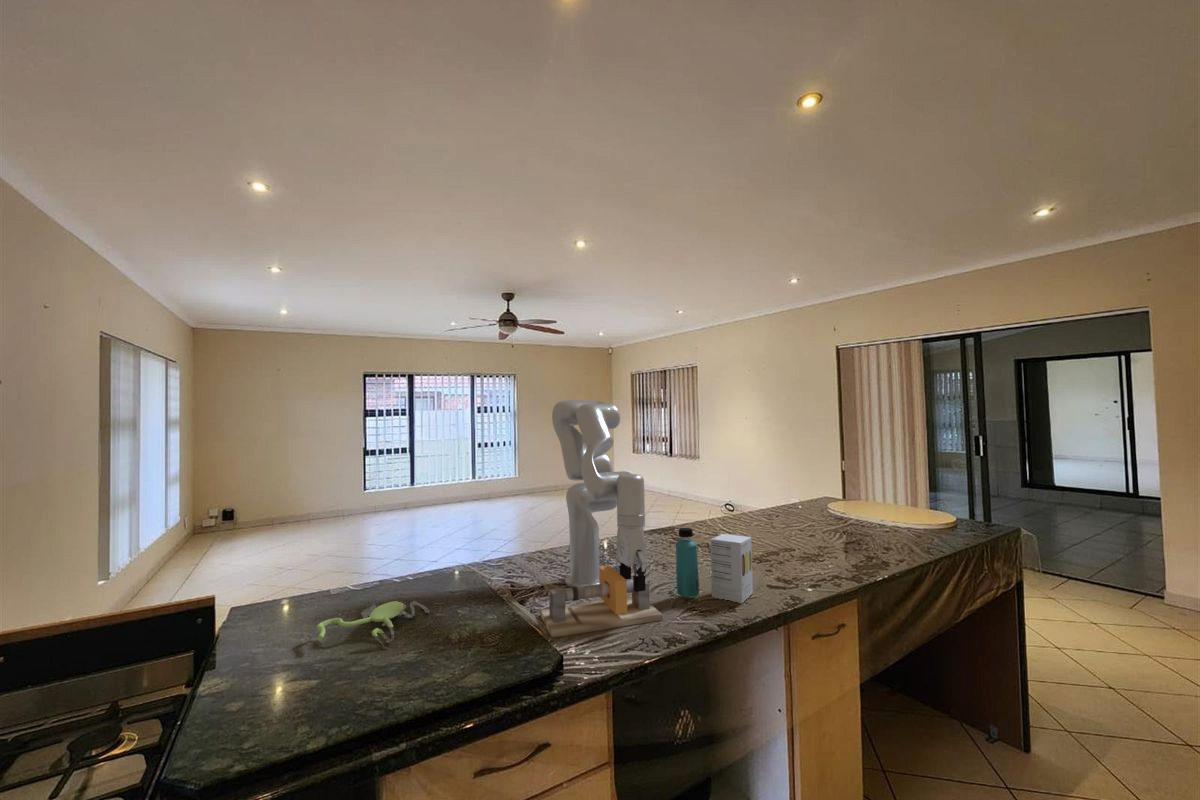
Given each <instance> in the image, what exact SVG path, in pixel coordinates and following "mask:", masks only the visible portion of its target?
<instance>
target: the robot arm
mask: <svg viewBox="0 0 1200 800" xmlns="http://www.w3.org/2000/svg"><path fill="white" fill-rule="evenodd" d="M551 413H552V415H551V421H552V426H553V430H554V431H555V435H556V436H557V438H558V441H559V444H560V448H561V453H562V459H563V465H564V470H565V474H566V476H567V478H568V479H569V480H571V481H575V482H579V481H580V482H581V481H582V482H583V483H577V484H573V485H571V486H570V487H569V488H568V489H567V490H566V493H565V494H566V496H565V499H566V500H565V501H566V506H567V512H568V513H567V514H568V521H569V527H568V528H569V575H568V576H567V577H565V581H564V583H565V584H566V586H568V587H569V588H571V587H582V586H590V585H597V584H600V580H599V567H600V527H599V523H598V522H597V520H596V519H595V517H594V516H593V514H592V513H598V512H605V511H611V510H614V509H616V519H617V520H616V522H617V525H616V526H617V532H616V533H617V534H616V558H617V560H618V561H619V562H618V564H619V574H620V575H621V576H622V577H623V578H625V579H626V580H627V581H629V580H632V579H633V590H634V591H635V592H639V591H645V589H646V585H645V579H646V575H647V567H648V566H647V564H648V562H647V560H646V539H645V538H646V537H645V531H644V527H646V519H645V517H646V513H645V509H646V507H645V479H644V477H643V475H641V474H637V473H631V472H629V471H623V470H621V471H614V468H613V465H612V462H611V459H610V457H609V456H608V454H606V453H607V452H608V451H610V449H612V448H613V446H614V438H613V436H612V433H611V432H610V430H613V429H616V428H617V427H618V426H619V425H620V422H621V414H620V411H619V409H618V407H617V406H616V405H615V404H613V403H610V402H605V401H600V400H583V399H582V400H580V399H579V400H578V399H576V400H575V399H569V400H568V399H567V400H560V401H559V402H557V403H555V405H554V406H553V408H552V412H551ZM575 425H576V426H578V428H579V430H578V429H577V428H576V427H575ZM632 572H633V575H632Z"/></svg>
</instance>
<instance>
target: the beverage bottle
mask: <svg viewBox="0 0 1200 800" xmlns="http://www.w3.org/2000/svg"><path fill="white" fill-rule="evenodd" d="M693 530H694V529H693V528H690V527H680V528H679V529H678V537H680V538H681V539H678V540H677V541H676V542H675V558H676V559H675V565H676V566H675V570H676V571H675V572H676V573H675V574H676V581H675V582H676V592H677V594H678V595H679V596H681V597H684V598H694V597H697V596H699V595H700V578H699V572H700V571H699V558H698V544H697V542H696V541H695V540H694V539H690V538H692V537H694V533H693Z"/></svg>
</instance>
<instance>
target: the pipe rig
mask: <svg viewBox="0 0 1200 800" xmlns="http://www.w3.org/2000/svg"><path fill="white" fill-rule="evenodd" d="M645 585H646V589H645V591H639V592H635V591H634V590H633V578H631V579H628V580H627V594H629V593H631V596H630V597H629V596H627V613H621V614H615V613H614V612H613V610H612V609H611V608H610V607H609V606H608V605H607V604H606V603H605V602H604V601H603V600H600V601H593V602H592V601H591V602H586V603H579V604H572V605H566V602H570V601H572V602H575V601H579V600H584V599H591V598H601V596H608V595H610V586H609V583H605V584H597V585H590V586H582V587H567V588H561V587H559V588H552V589H551V588H550V589H549V590H548V591H549V592H548V594H549V595H548V596H549V597H548V598H549V603H548V604H549V608H542V609H540V613H539V614H540V617H541V620H542V621H543V623H544V626H545V627H546V629H547V631H548V633H549V635H550V637H551V639H552V638H558V637H559V638H560V637H566V636H572V635H579V634H584V633H589V632H596V631H597V632H598V631H602V630H604V631H605V630H609V629H615V628H616V629H617V628H621V627H622V628H623V627H627V626H633V625H634V626H635V625H640V624H647V623H652V622H658V621H659V622H660V621H663V613H661V611H659V610H658V609H657V608H656V607H655V606H653V604H651V603H650V602H651V601H650V600H651V599H650V583H649V582H648V581H647V579H646V578H645Z"/></svg>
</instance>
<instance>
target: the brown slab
mask: <svg viewBox="0 0 1200 800" xmlns="http://www.w3.org/2000/svg"><path fill="white" fill-rule="evenodd" d="M599 580H600V584H605V583H609V586H610V595H608V596H601V597H600V599H602V600H601V601H604V602H605V603H606V604H607V605H608V606H609V607H610V608H611V609H612V610H613V612H614V613H615V614H621V613H627V598H628V593H627V581H628V580H626V579H625V578H623V577H622V576H621V575H620V572H619V573H618V572H617V571H616V570H615V569H614V568H613V567H612V566H610V565H607V566H606V565H605V566H599Z"/></svg>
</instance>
